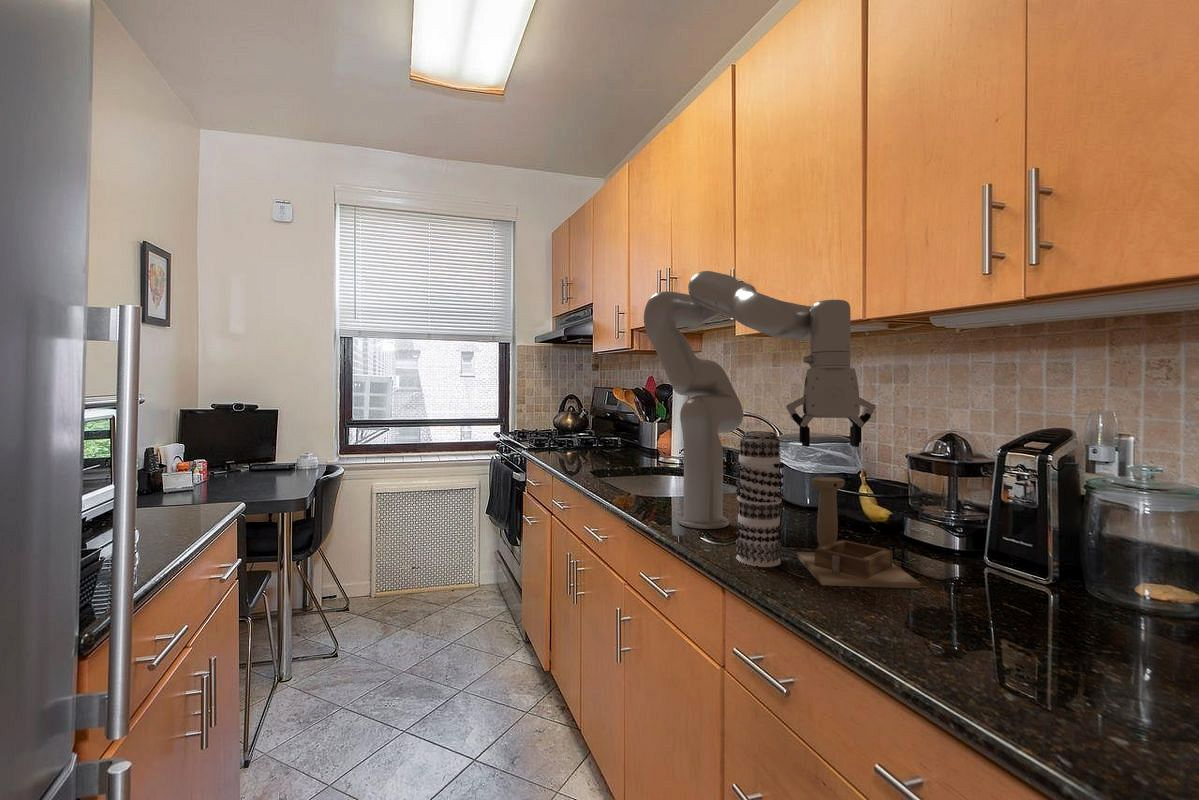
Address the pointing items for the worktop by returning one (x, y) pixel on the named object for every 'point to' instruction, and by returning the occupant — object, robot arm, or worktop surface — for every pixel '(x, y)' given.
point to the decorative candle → (759, 499)
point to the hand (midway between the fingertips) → (830, 446)
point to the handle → (827, 509)
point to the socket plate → (849, 580)
